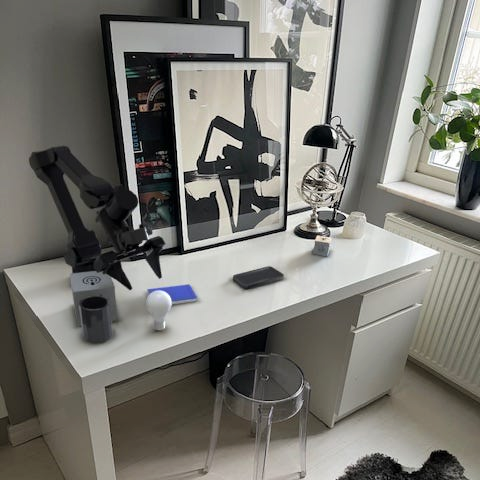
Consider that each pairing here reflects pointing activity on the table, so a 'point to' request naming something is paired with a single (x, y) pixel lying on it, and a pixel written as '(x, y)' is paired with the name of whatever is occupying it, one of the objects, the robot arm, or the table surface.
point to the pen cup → (96, 318)
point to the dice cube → (322, 245)
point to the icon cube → (92, 290)
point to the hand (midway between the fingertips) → (146, 283)
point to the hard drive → (178, 293)
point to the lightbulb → (158, 307)
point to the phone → (258, 277)
